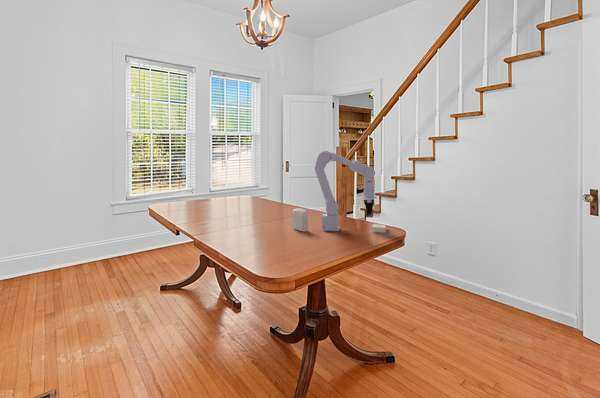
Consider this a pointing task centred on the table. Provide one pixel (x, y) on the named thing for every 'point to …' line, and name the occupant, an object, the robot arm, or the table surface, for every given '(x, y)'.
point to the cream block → (378, 228)
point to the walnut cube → (368, 215)
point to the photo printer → (300, 219)
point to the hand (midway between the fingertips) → (368, 213)
